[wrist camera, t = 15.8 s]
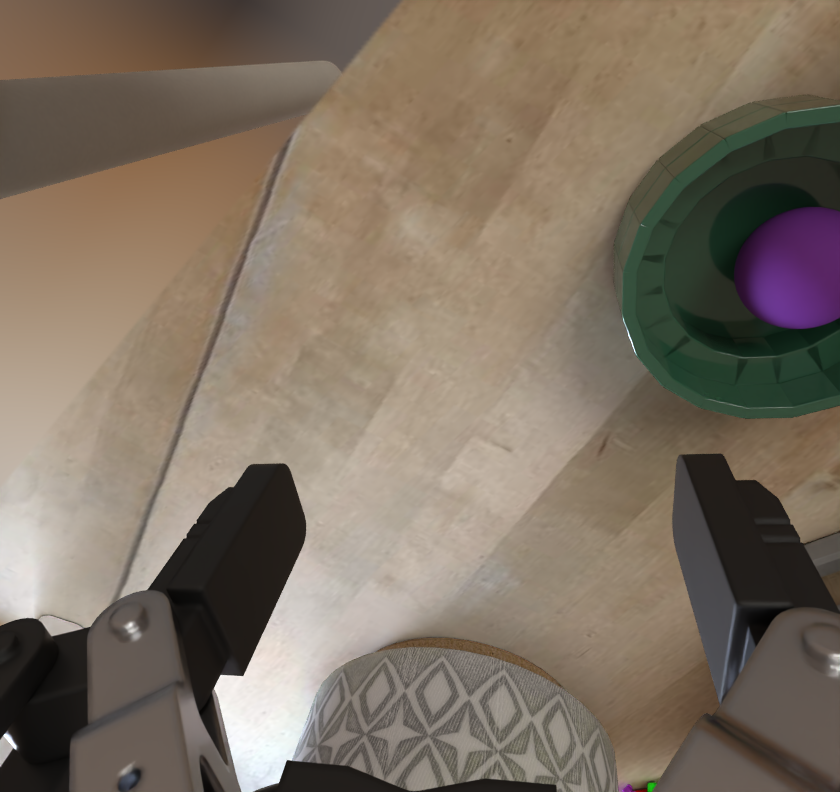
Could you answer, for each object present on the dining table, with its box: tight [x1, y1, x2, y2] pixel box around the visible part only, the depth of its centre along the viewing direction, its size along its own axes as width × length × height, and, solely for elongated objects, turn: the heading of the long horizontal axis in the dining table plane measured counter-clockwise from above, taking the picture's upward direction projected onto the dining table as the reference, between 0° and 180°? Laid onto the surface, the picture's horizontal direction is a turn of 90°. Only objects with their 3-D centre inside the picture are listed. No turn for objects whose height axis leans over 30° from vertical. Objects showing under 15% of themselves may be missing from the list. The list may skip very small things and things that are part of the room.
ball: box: [734, 207, 840, 329], centre depth 26 cm, size 5×5×5 cm
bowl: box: [613, 95, 840, 419], centre depth 26 cm, size 13×13×5 cm
